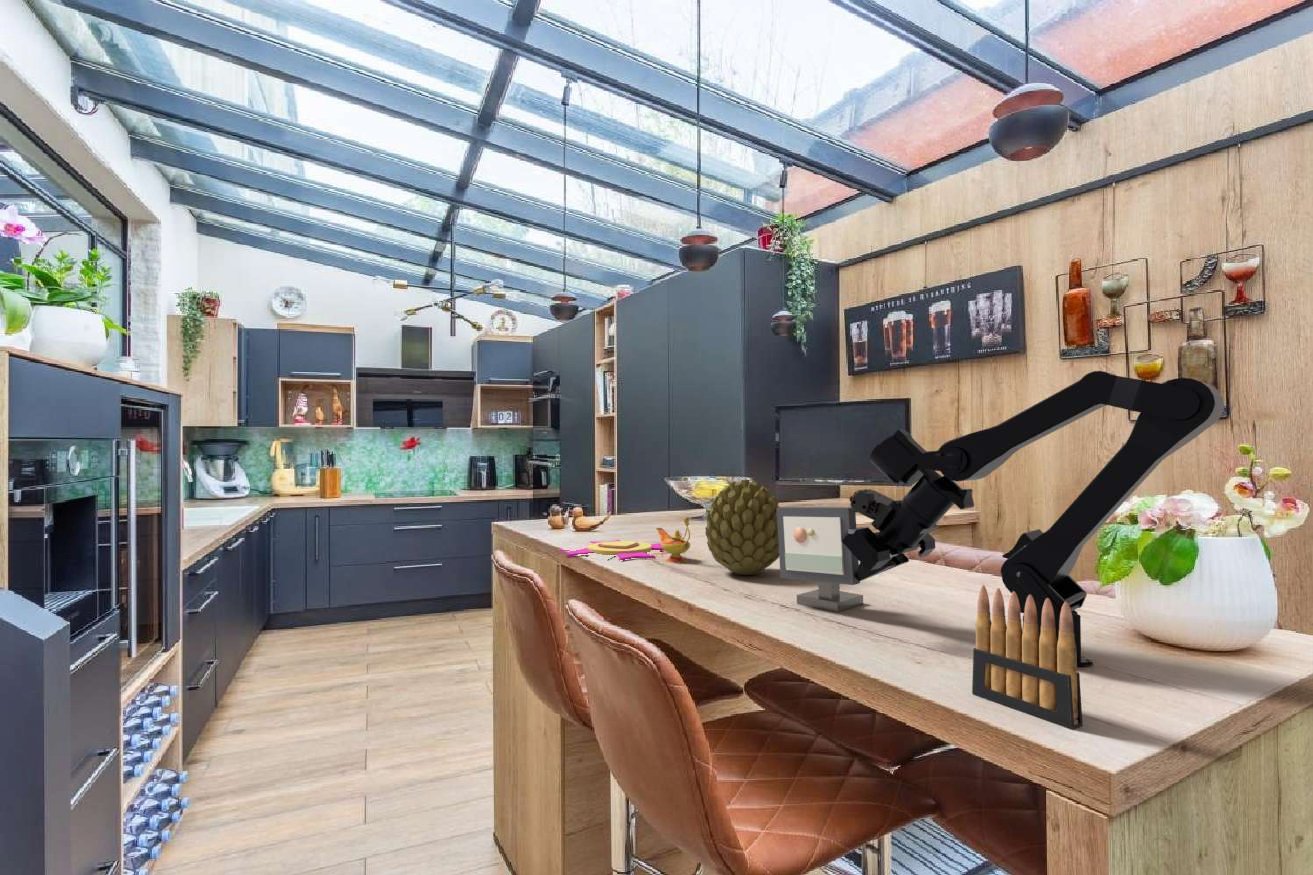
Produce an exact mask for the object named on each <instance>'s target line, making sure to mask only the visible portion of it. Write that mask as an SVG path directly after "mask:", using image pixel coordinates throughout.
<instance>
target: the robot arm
mask: <svg viewBox="0 0 1313 875" xmlns="http://www.w3.org/2000/svg"><path fill="white" fill-rule="evenodd" d="M1106 406H1110V407H1115V408H1118V409H1119V408H1120V409H1123V410H1127V411H1132V412H1137V413H1139V414H1138V416H1137V418H1136V421H1135V423H1134V425H1133V428H1132V430H1131V431H1130V432H1131V433H1130V435H1129V436H1128V438H1127V441H1126V442H1125V443H1124V444H1123V445H1122V446H1121V448H1120V449H1118V451H1117V452H1116V453H1115V454H1114V456H1113V457H1112V458H1111V459H1110V460H1109V461H1108V462H1107V463H1106V464H1105V466H1104V467H1103V468H1102V469H1101V470H1100V471H1099V472H1098V473H1097V475H1096V476H1095V477H1094V478H1093V479H1092V480H1091V481H1090V483H1089V484H1088V485H1087V486H1086V487H1085V488H1084V489H1083V490H1082V492H1080V493H1079V495H1078V496H1077V497H1076V498H1075V500H1073V502H1071V504H1070V505H1069V506H1068V507H1067V509H1066V510H1065V511H1064V512H1063V513H1062V514H1061V515H1060V516H1059V517H1058V519H1057V520H1056V521H1055V522H1054V523H1053V524H1052V525H1051V526H1050V527H1049V528H1048V529H1047V530H1045V531H1044V532H1043V531H1042V530H1041V529H1035V530H1031V531H1027V532H1023V533H1021V535H1019V536H1020V537H1019V538H1018V539H1017V540H1016V543H1015V544H1014V546H1013V548H1012V549H1011V550H1009V551H1008V552H1006V553H1004V554H1002V555H1001V556H1002V558H1003V559H1006V560H1004V562H1003V564H1002V565H1001V568H1000V571H999V572H1000V574H1001V580H1002V583H1003V584H1004V587H1005V588H1006V589H1007V590H1008V592H1009V593H1010V594H1012V592H1013V591H1015V592H1016V594H1017V597H1018V600H1019V604H1020V612H1021V614H1023V615H1022V630H1023V629H1024V611H1025V604H1026V600H1027V598H1028V596H1029V595H1032V597H1033V599H1034V602H1035V606H1036V611H1037V623H1038V632H1039V637H1040V634H1041V617H1042V609H1043V605H1044V602H1045V600H1046V598H1049V599H1050V601H1051V604H1052V607H1053V611H1054V618H1055V630H1056V638H1057V642H1058V639H1059V621H1060V613H1061V609H1062V606H1063V604H1064V602H1068V604H1069V606H1070V609H1071V613H1072V618H1073V630H1074V640H1075V644H1076V655H1077V667H1081V666H1082V667H1083V666H1094V660H1091V659H1090V658H1087V657H1086V656H1085V657H1084V656H1082V633H1081V632H1082V631H1081V630H1082V629H1081V628H1082V626H1081V624H1082V623H1081V622H1082V621H1081V615H1080V614H1078V611H1076V610H1077V609H1080V608H1082V607H1083V605H1084V602H1085V601H1086V598H1087V595H1088V594H1087V591H1086V590H1085V589H1083V588H1082V587H1081V585H1080V584H1079V583H1077V581H1075V579H1073V577H1071V576H1070V574H1071V572H1072V570H1073V568H1074V567H1075V565H1076V564H1077V561H1078V558H1079V556H1080V554H1081V552H1082V549H1083V547H1084V546H1085V544H1087V542H1089V540H1090V539H1091V538H1092V537H1094V535H1095V534H1096V532H1098V530H1099V529H1100V528H1101V527H1102V526H1103V525H1104V524H1105V523H1106V522H1107V521H1108V520H1109V518H1110V517H1112V516H1113V514H1115V513H1116V511H1117V510H1118V509H1119V508H1120V507H1121V506H1122V504H1124V502H1126V500H1127V499H1129V497H1130V496H1131V495H1132V494H1133V493H1134V492H1135V491H1136V490H1137V489H1138V488H1139V486H1140V485H1141V484H1142V483H1143V482H1144V481H1145V480H1146V479H1147V478H1148V477H1149V476H1150V474H1152V472H1154V470H1155V469H1157V467H1158V466H1159V465H1160V464H1161V463H1162V462H1163V461H1164V460H1165V459H1166V458H1168V457H1169V456H1171V455H1172V454H1173V453H1175V452H1176V451H1179V449H1182V447H1185V445H1187V444H1188V443H1190V442H1191V441H1193V440H1194V439H1196V438H1197V437H1198V436H1200V435H1201V434H1202V433H1204V432H1205V431H1207V430H1208V429H1209V428H1210V427H1212V426H1213V425H1214V424H1215V423H1217V422H1218V421H1219V420H1220V418H1221V416H1222V415H1223V413H1224V411H1225V410H1224V409H1225V404H1224V397H1223V395H1222V394H1221V392H1219V390H1218V389H1217V388H1216V387H1214V386H1213V385H1212V384H1209V383H1206V382H1203V381H1201V380H1197V379H1194V378H1188V377H1179V378H1171V379H1169V380H1166V381H1163V382H1162V383H1160V382H1155V381H1149V380H1143V379H1137V378H1132V377H1128V376H1127V377H1126V376H1121V375H1116V374H1115V373H1111V372H1108V371H1103V370H1094V371H1090V372H1088V373H1086V374H1085V375H1084V376H1083V377H1081V378H1080V379H1079V380H1078V381H1075V382H1074V383H1072V384H1071V385H1068V386H1067V387H1065V388H1063V389H1061V390H1059V391H1057V392H1056V393H1054V394H1052V395H1050V396H1048V397H1046V398H1044V399H1043V400H1040V401H1039V402H1038V403H1036V404H1034V405H1032V406H1029V407H1028V408H1026V409H1024V410H1023V411H1021V412H1019V413H1017V414H1015V415H1014V416H1012V417H1010V418H1008V419H1006V420H1004V421H1003V422H1000V423H998V424H997V425H994V426H991V427H988V428H985V429H980V430H977V431H974V432H969V433H967V434H965V435H962V436H959V437H956V438H953V439H951V440H950V439H949V440H948V441H946V442H944V443H943V444H942V445H941V446H940V447H939V448H938V450H934V451H933V450H931V451H930V450H929V451H928V450H926V449H924V448H923V447H922V446H921V445H920V444H919V443H918V442H917V441H916V440H915V439H914V438H913V436H912V435H911V434H910V433H909V432H908V431H907V430H906V429H897V430H896V431H895V432H894V433H893V435H890V436H888V437H887V438H885V439H884V440H882V441H881V442H880V444H877V445H876V446H875V447H874V448H873V450H872V451H871V452H870V455H869V461H870V462H871V463H872V464H873V465H874V466H875V467H876V469H878V470H879V471H880V472H881V473H882V474H883V475H884V476H886V478H887V479H888V480H889V481H890V482H891V483H893V485H894V486H895V487H902V486H905V487H911V486H912V487H911V489H910V490H909V491H908V492H907V493H906V494H905V495H904V497H903V498H902V499H901V500H900V499H899V500H895V499H892V498H891V497H888V496H886V495H885V494H882V493H881V492H879V491H876V490H873V489H871V488H866V489H858V490H856V491H854V493H853V495H851V496H850V497H849V502H850V507H851V510H852V511H854V512H855V513H859V514H861V515H862V516H864V517H866V518H868V519H870V520H873V521H872V522H871V523H870V525H871V526H872V527H873V528H874V529H875V530H877V531H878V533H877V532H876V533H874V532H873V530H871V528H870V527H867V526H866V527H864V526H863V527H861V526H860V527H856V528H853V529H848V530H847V532H846V533H845V534H844V535H843V536H842V537H841V541H842V542H843V543H844V544H845V546H846V547H847V548H848V549H849V550H850V551H851V552H852V553H853V554H854V556H855V557H856V558H857V559H858V560H859V566H858V569H857V571H856V574H855V578H856V579H857V580H858V581H860V582H862V581H864V580H867V579H870V578H872V577H874V576H877V575H879V574H882V573H884V572H886V571H889V570H891V569H894V568H896V567H899V566H901V565H905V564H907V563H908V562H909V561H910V559H909V558H908V556H906V555H905V553H910V552H913V551H917V550H918V549H919V548H920V550H919V551H918V553H917V556H919V558H923V557H926V556H927V557H928V556H930V554H931V553H932V552H933V551H934V550H935V549H936V539H935V538H934V537H933V536H932V534H930V533H932V532H935V531H936V530H937V529H938V528H939V525H938V522H939V521H940V520H941V519H942V518H943V517H944V516H945V515H946V513H947V512H949V511H950V510H951V509H952V507H953V506H954V505H955V506H956V507H958V509H960V510H967V509H973V508H974V507H975V503H974V498H973V489H972V488H962V487H961V486H960V485H959V484H958V482H965V481H974V480H975V481H976V480H981V479H983V478H985V477H987V476H989V475H990V474H992V473H993V472H994V471H995V470H997V469H998V468H1000V467H1001V466H1002V465H1004V464H1005V463H1006V462H1007V461H1008V460H1009V459H1010V458H1011V457H1012V456H1013V455H1014V454H1015V453H1017V452H1018V451H1020V449H1023V448H1025V447H1026V446H1028V445H1030V444H1032V443H1034V442H1036V441H1038V440H1040V439H1042V438H1044V437H1046V436H1048V435H1050V434H1052V433H1054V432H1056V431H1058V430H1060V429H1062V428H1064V427H1066V426H1068V425H1070V424H1072V423H1073V422H1076V421H1077V420H1079V419H1081V418H1083V417H1085V416H1087V415H1089V414H1091V413H1093V412H1095V411H1098V410H1099V409H1102V408H1103V407H1106ZM938 472H940V473H941V474H942V475H941V474H940V473H938Z"/></svg>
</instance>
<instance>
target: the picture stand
mask: <svg viewBox="0 0 1313 875" xmlns="http://www.w3.org/2000/svg"><path fill="white" fill-rule="evenodd" d="M817 583H818V588H817V589H814V590H809V591H807V592H803V593H799V594H796V605H800V606H801V605H802V606H806V607H811V608H816V609H819V610H820V609H821V610H826V611H831V612H835V613H838V612H842V611H844V610H848V609H851V608H854V607H857V606H860V605H863V604H864V594H859V593H854V592H853V593H852V592H850V591H849V592H848V591H841V589H840V588H841V587H840V585H841V584H837V583H827V582H817Z"/></svg>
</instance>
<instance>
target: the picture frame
mask: <svg viewBox="0 0 1313 875" xmlns="http://www.w3.org/2000/svg"><path fill="white" fill-rule="evenodd" d="M856 513H857V512H854V511H852V510H851V506H780V507H779V506H778V508H777V525H778V542H779V558H778V559H779V573H780V574H779V575H780V576H779V577H780V578H781V579H789V580H797V581H798V580H799V581H809V582H817V583H818V582H827V583H837V584H840V585H847V586H848V585H849V586H855V585H859V584H861V581H858V580H857V579H856V578H855V574H856V571H857V569H858V566H859V564H860V561H859V560H858V559H857V558H856V557H855V556H854V554H853V553H852V552H851V551H850V550H849V549H848V548H847V547H846V546H845V544H844V543H843V542H842V541H841V537H842V536H843V535H844V534H845V533H846V532H847V530H848V529H853V528H857V516H856Z"/></svg>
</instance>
